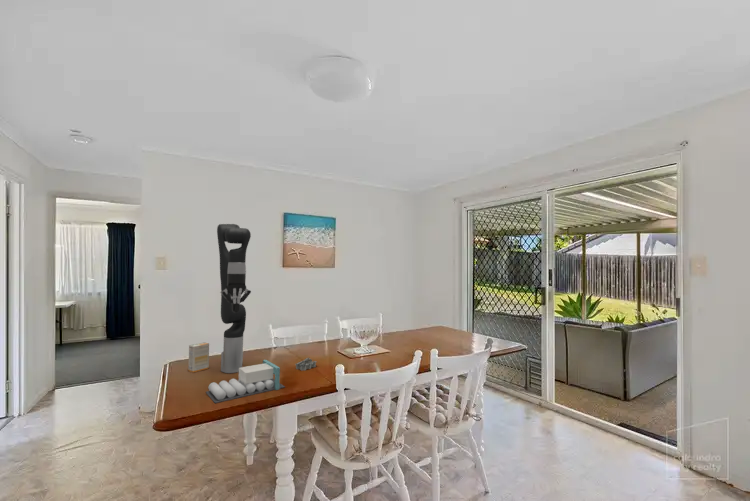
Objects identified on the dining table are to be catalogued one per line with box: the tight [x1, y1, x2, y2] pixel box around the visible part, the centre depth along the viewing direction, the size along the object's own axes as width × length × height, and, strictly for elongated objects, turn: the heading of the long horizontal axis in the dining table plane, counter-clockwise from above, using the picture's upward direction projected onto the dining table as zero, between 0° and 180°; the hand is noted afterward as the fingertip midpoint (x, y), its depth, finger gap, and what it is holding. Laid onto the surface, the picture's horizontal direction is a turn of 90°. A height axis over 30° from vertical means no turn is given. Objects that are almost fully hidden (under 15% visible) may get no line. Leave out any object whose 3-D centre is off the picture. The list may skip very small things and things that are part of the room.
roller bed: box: [205, 378, 286, 404], centre depth 148 cm, size 29×14×4 cm, turn 129°
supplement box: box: [187, 342, 210, 373], centre depth 175 cm, size 8×5×13 cm, turn 146°
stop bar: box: [262, 359, 281, 391], centre depth 155 cm, size 2×16×9 cm, turn 39°
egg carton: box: [294, 357, 317, 371], centre depth 182 cm, size 11×8×4 cm
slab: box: [238, 363, 274, 384], centre depth 151 cm, size 12×9×4 cm
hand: (235, 312), depth 152 cm, fingers closed
